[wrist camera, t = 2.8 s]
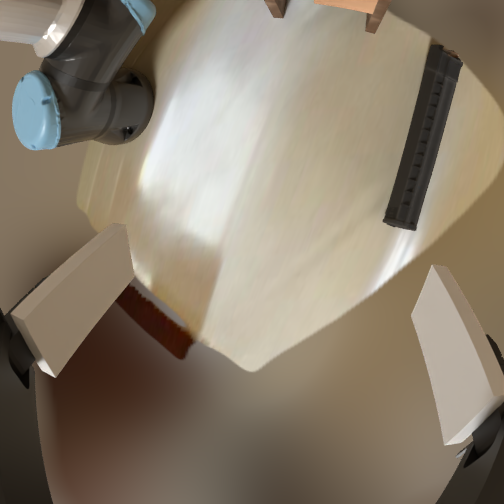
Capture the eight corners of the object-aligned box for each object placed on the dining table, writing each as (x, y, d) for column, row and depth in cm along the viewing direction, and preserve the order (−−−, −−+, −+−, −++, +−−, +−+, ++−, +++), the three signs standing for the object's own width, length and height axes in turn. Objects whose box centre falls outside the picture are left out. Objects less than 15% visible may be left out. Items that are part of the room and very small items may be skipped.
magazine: (404, 261, 38) (491, 59, 18) (384, 255, 39) (467, 45, 18) (393, 200, 50) (446, 51, 30) (378, 195, 51) (428, 43, 30)
